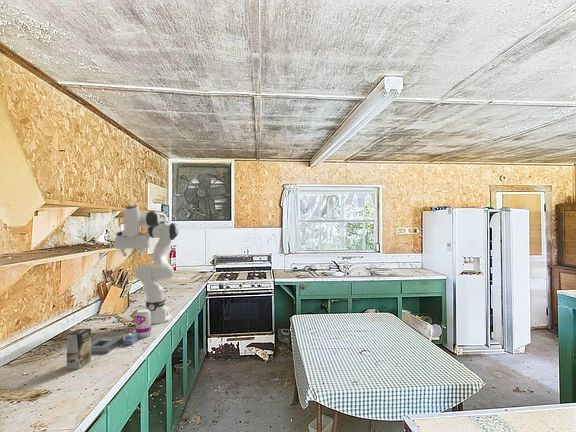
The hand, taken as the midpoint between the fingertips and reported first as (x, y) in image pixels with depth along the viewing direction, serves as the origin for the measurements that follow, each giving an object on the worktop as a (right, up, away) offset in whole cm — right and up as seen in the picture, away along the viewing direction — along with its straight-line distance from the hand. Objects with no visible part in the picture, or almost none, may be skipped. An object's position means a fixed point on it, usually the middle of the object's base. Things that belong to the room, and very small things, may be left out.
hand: (132, 256), depth 201 cm
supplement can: (+6, -48, +1) cm, 48 cm away
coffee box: (-8, -48, -39) cm, 62 cm away
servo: (+4, -48, -10) cm, 49 cm away
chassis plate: (-8, -48, -17) cm, 51 cm away
